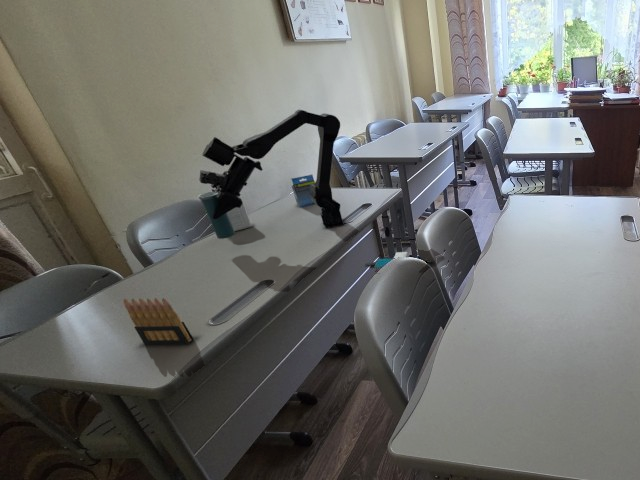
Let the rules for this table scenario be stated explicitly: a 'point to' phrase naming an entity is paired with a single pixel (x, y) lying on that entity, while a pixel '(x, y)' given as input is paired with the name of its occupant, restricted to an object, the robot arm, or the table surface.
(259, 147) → the robot arm
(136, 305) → the ammunition clip
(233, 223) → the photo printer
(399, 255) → the phone stand
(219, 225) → the tin
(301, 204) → the label tape box
